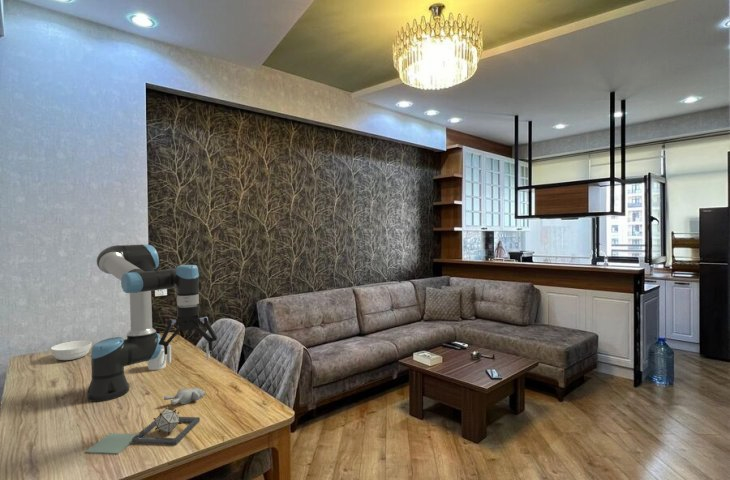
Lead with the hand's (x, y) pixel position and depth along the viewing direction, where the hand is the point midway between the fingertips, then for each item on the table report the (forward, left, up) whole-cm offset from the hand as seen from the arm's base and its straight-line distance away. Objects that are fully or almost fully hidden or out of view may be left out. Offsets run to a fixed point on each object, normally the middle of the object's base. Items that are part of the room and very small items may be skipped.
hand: (189, 360), depth 144 cm
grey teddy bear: (-8, +12, -22) cm, 26 cm away
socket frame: (-2, -11, -21) cm, 24 cm away
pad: (-15, -20, -21) cm, 33 cm away
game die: (-2, -11, -22) cm, 25 cm away
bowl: (-101, +60, -22) cm, 119 cm away
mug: (-43, +48, -22) cm, 68 cm away
